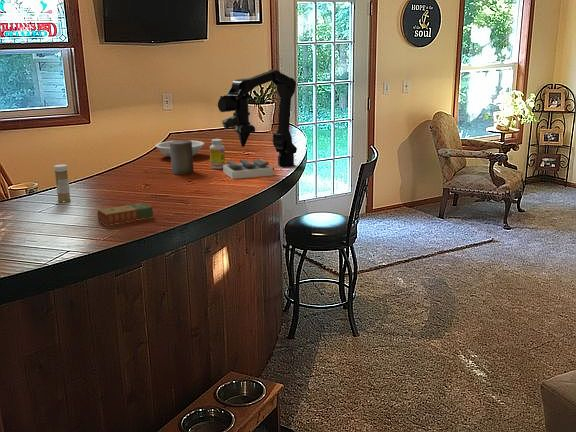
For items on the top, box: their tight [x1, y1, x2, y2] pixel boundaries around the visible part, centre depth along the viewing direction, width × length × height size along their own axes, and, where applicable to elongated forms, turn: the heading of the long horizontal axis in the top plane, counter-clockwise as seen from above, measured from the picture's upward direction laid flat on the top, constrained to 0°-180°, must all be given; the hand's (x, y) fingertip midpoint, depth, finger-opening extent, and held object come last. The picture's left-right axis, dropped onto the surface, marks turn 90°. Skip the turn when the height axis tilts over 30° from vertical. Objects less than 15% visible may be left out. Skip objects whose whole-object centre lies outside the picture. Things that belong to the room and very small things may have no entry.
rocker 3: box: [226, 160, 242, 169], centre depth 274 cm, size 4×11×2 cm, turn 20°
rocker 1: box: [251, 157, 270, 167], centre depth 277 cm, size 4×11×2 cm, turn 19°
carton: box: [97, 202, 155, 226], centre depth 209 cm, size 8×16×4 cm, turn 126°
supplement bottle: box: [209, 138, 226, 170], centre depth 288 cm, size 7×7×13 cm
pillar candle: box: [170, 139, 195, 176], centre depth 279 cm, size 10×10×15 cm
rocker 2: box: [239, 159, 256, 168], centre depth 276 cm, size 4×11×2 cm, turn 19°
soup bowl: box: [155, 139, 205, 158], centre depth 317 cm, size 24×24×7 cm
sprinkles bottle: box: [53, 164, 71, 203], centre depth 233 cm, size 5×5×13 cm
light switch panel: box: [222, 162, 275, 180], centre depth 277 cm, size 21×16×3 cm
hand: (243, 146), depth 273 cm, fingers closed
